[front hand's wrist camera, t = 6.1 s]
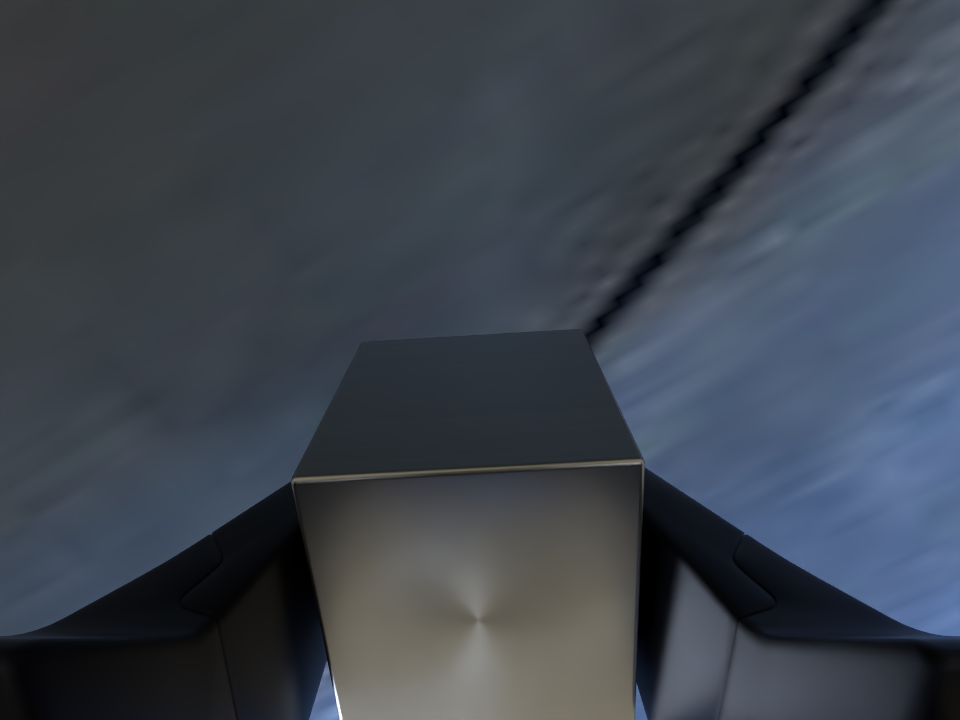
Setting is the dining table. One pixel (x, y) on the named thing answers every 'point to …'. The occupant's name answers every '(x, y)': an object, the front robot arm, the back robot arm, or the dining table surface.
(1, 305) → the dining table surface
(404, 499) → the metal block
